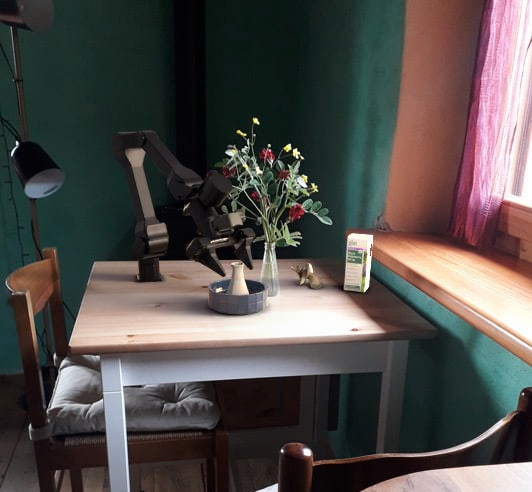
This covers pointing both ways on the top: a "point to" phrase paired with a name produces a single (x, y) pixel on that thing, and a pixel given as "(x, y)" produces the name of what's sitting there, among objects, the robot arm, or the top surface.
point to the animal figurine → (308, 276)
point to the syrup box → (358, 262)
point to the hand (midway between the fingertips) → (238, 272)
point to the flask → (237, 280)
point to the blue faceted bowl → (237, 298)
